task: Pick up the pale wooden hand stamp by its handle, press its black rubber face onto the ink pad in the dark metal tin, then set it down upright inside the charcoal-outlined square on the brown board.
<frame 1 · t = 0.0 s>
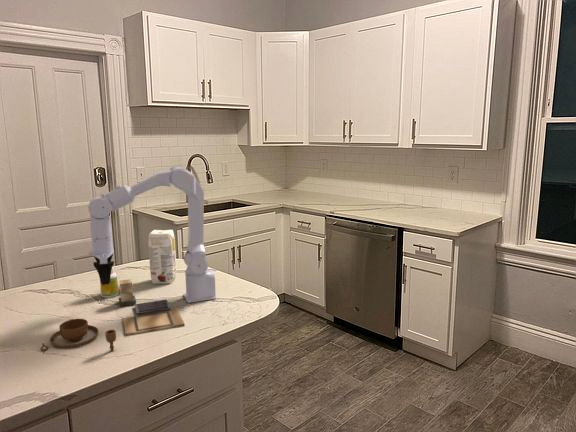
hand: (105, 280, 137), 10 cm above the counter, tool pointing down, fingers open, 7 cm apart
supplement bottle: (109, 295, 152), on the counter
ink pad: (152, 308, 141), on the counter
marked board: (153, 322, 131), on the counter
stamp: (127, 303, 145), on the counter
juice carton: (164, 281, 166), on the counter
place setting: (78, 347, 118), on the counter
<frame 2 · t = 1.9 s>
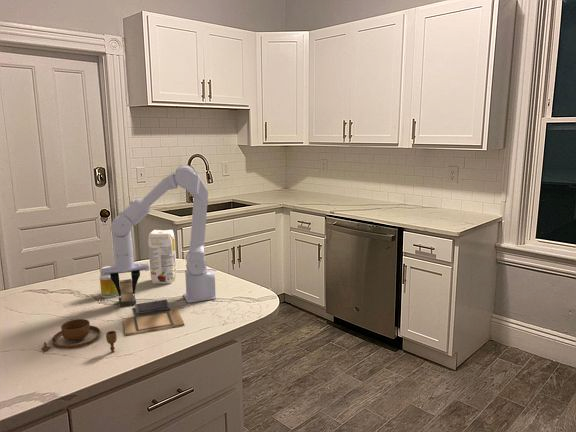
hand: (126, 293, 144), 3 cm above the counter, tool pointing down, fingers closed on stamp, 4 cm apart
stamp: (127, 303, 145), on the counter, touching gripper
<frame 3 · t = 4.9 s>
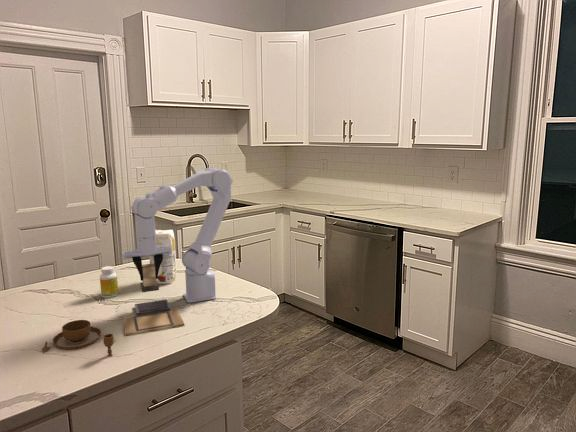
hand: (149, 278, 139), 10 cm above the counter, tool pointing down, fingers closed on stamp, 4 cm apart
stamp: (149, 288, 140), point 7 cm above the counter, touching gripper
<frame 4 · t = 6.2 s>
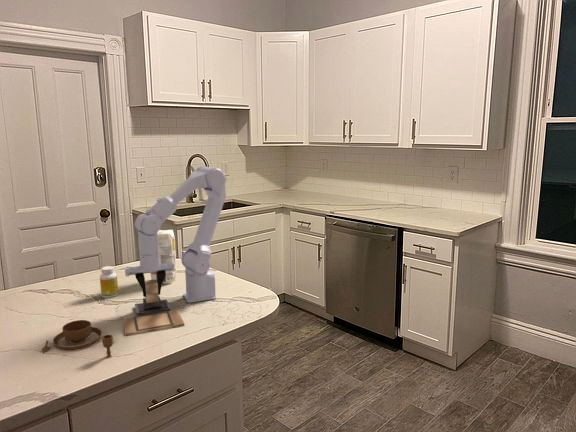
hand: (151, 294, 140), 5 cm above the counter, tool pointing down, fingers closed on stamp, 4 cm apart
stamp: (152, 304, 140), point 2 cm above the counter, touching gripper
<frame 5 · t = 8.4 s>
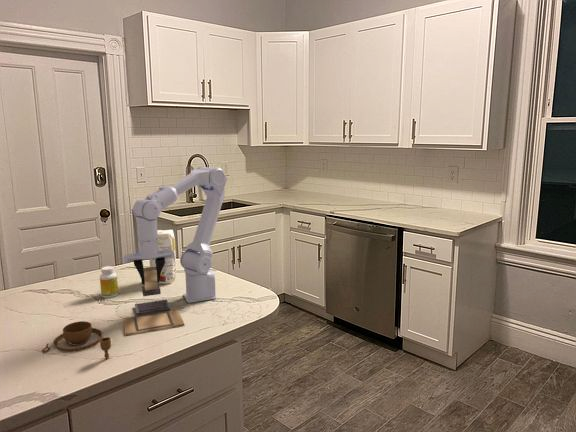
hand: (150, 282, 135), 10 cm above the counter, tool pointing down, fingers closed on stamp, 4 cm apart
stamp: (151, 292, 136), point 7 cm above the counter, touching gripper
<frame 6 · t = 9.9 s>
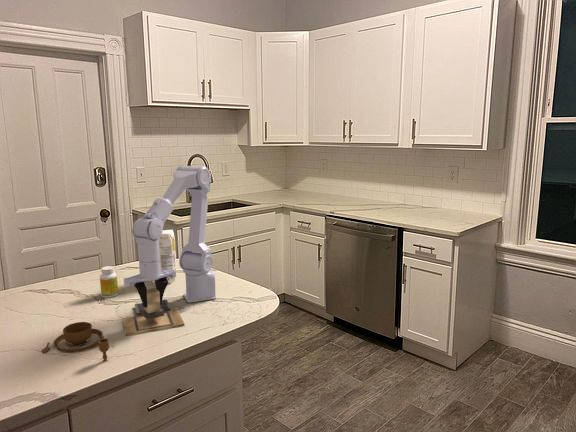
hand: (152, 304, 130), 6 cm above the counter, tool pointing down, fingers closed on stamp, 4 cm apart
stamp: (152, 314, 130), point 2 cm above the counter, touching gripper
when the fingers open (5 cm above the counter, at t = 10.4 s): stamp drops 1 cm, resting on marked board.
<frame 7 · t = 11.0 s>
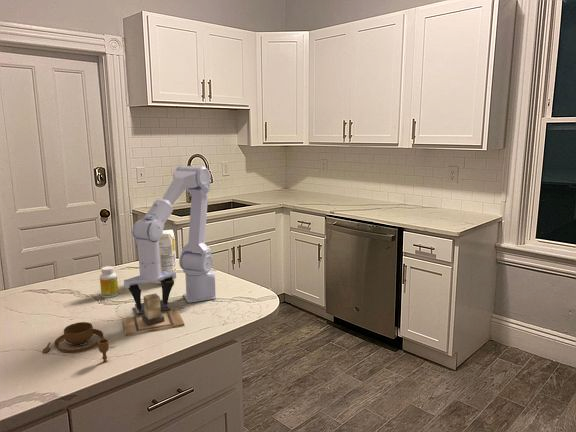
hand: (152, 306, 130), 5 cm above the counter, tool pointing down, fingers open, 7 cm apart
stamp: (153, 320, 131), point 1 cm above the counter, touching marked board
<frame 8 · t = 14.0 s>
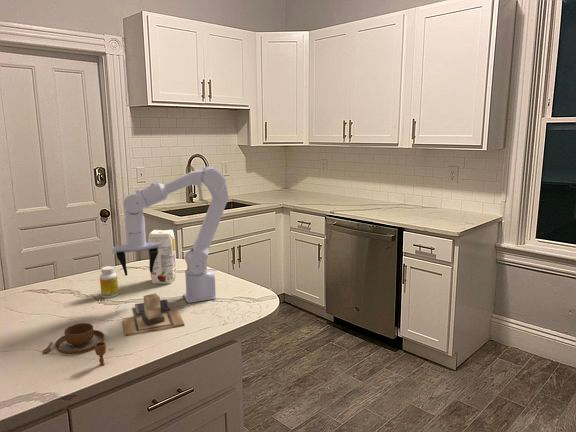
hand: (138, 273, 143), 10 cm above the counter, tool pointing down, fingers open, 7 cm apart
at the end: stamp 0.2 cm off-centre on the marked board, point 0.6 cm above the marked board's base; stamp tilted 0°; the gripper is holding nothing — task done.
